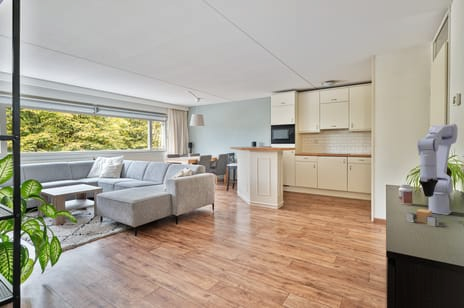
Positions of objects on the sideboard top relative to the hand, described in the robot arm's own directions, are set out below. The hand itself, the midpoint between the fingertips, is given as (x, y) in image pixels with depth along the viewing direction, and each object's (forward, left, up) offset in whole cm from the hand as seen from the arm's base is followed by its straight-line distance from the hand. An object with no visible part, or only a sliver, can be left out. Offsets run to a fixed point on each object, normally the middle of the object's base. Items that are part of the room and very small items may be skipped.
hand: (428, 196), depth 106 cm
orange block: (+8, 0, -10) cm, 12 cm away
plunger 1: (+12, -3, -9) cm, 15 cm away
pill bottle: (-24, -16, -10) cm, 30 cm away
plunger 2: (+12, +2, -9) cm, 15 cm away
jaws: (+11, 0, -9) cm, 14 cm away
